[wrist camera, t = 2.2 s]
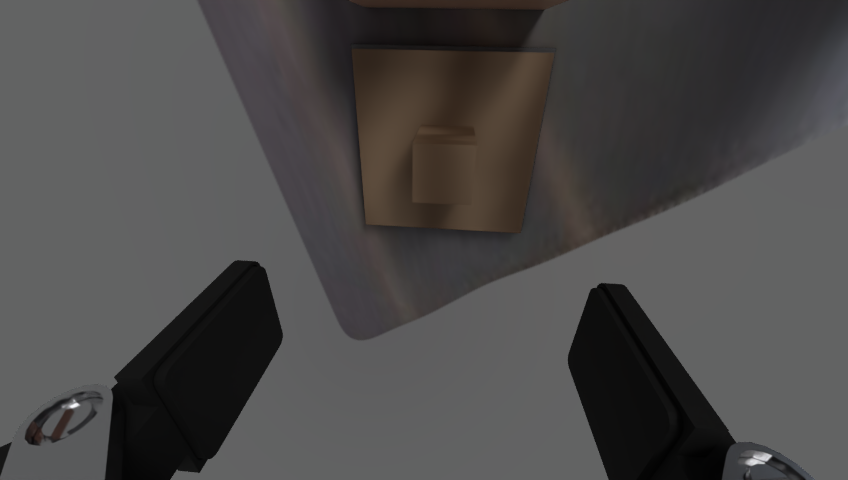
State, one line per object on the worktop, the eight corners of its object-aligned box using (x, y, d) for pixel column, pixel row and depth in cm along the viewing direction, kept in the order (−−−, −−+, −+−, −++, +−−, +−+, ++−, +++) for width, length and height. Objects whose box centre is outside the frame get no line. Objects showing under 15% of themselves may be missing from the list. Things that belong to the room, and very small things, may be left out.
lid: (551, 52, 21) (580, 55, 16) (518, 228, 27) (532, 269, 22) (354, 48, 22) (324, 49, 17) (368, 219, 28) (348, 258, 23)
